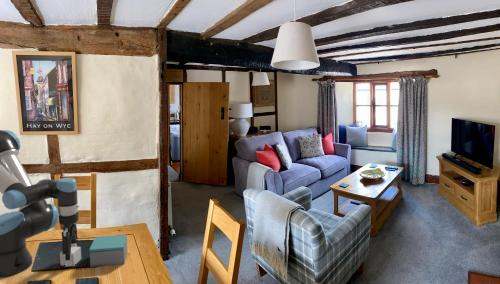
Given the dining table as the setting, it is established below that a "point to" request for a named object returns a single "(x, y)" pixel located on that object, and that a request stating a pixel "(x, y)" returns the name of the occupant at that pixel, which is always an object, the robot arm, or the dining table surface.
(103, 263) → the box
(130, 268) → the dining table surface
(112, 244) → the lid
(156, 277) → the dining table surface
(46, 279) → the dining table surface
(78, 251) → the light grey cube
